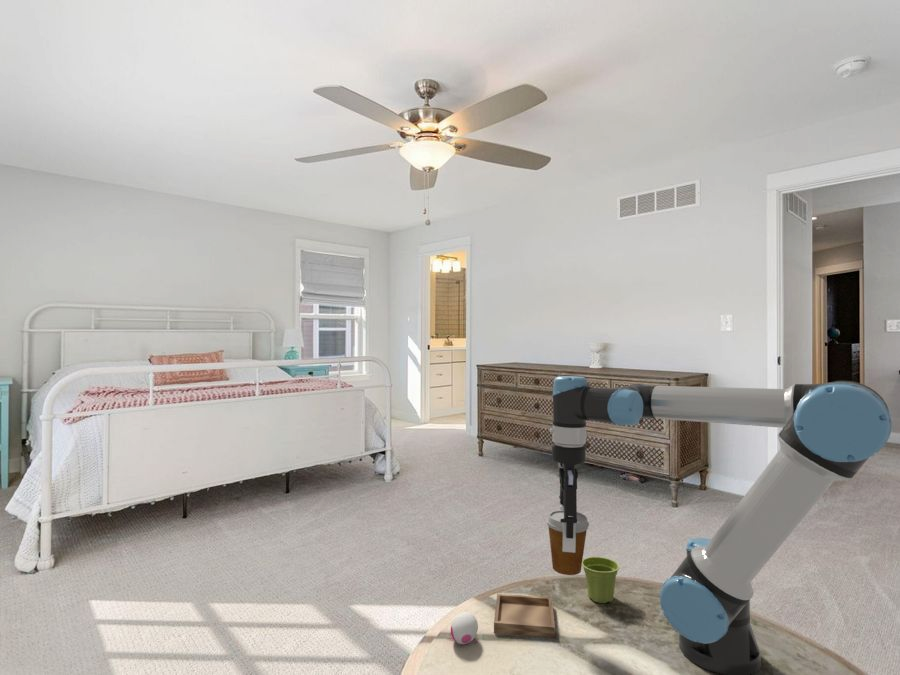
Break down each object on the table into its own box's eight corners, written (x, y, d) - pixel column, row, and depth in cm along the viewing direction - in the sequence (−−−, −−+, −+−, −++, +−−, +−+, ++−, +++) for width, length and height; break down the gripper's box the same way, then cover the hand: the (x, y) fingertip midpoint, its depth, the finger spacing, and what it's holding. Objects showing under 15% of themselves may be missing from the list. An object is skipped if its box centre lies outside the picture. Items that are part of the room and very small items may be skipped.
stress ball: (458, 645, 114) (442, 619, 115) (487, 628, 113) (470, 601, 114) (452, 665, 106) (435, 636, 107) (483, 646, 105) (465, 617, 106)
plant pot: (579, 602, 126) (578, 568, 127) (584, 586, 135) (584, 554, 135) (618, 610, 123) (617, 574, 123) (620, 593, 132) (620, 559, 132)
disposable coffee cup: (589, 581, 108) (590, 525, 108) (545, 576, 110) (545, 521, 110) (587, 562, 117) (587, 511, 118) (545, 558, 119) (546, 507, 120)
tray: (551, 606, 125) (551, 597, 125) (555, 637, 111) (555, 627, 111) (497, 602, 127) (497, 593, 127) (493, 632, 113) (493, 622, 113)
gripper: (549, 434, 126) (548, 523, 125) (554, 453, 104) (552, 561, 104) (580, 435, 124) (578, 525, 124) (591, 455, 103) (590, 565, 102)
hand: (567, 542), depth 114 cm, fingers closed on disposable coffee cup, 9 cm apart
